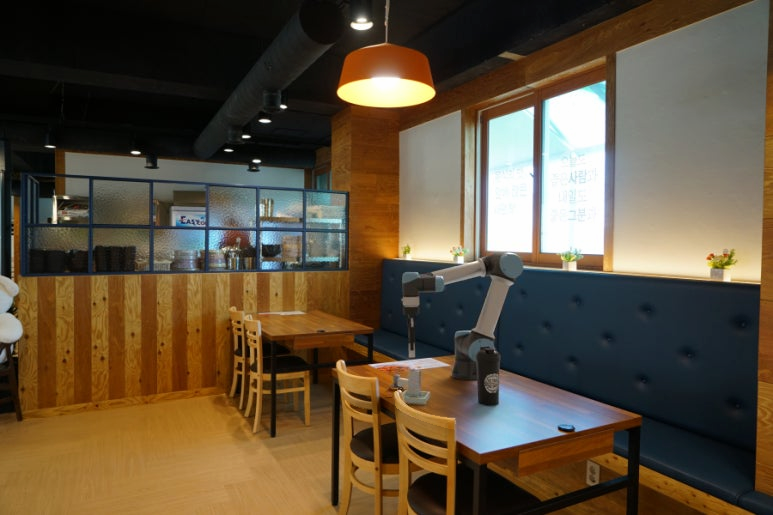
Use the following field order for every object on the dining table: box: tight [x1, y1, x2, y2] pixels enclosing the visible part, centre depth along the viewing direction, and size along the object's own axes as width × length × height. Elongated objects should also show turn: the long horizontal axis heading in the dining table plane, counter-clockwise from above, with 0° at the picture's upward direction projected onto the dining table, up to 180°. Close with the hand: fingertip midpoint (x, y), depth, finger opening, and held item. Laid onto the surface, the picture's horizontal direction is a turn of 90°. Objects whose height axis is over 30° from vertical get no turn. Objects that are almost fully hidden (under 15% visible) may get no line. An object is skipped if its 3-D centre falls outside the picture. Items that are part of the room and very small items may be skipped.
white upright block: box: [407, 368, 422, 398], centre depth 218 cm, size 4×4×12 cm
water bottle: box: [476, 346, 501, 407], centre depth 214 cm, size 10×10×23 cm
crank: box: [392, 374, 408, 389], centre depth 235 cm, size 13×3×5 cm, turn 55°
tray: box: [402, 389, 431, 406], centre depth 218 cm, size 11×11×2 cm
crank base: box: [389, 384, 404, 389], centre depth 238 cm, size 6×6×1 cm
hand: (411, 357), depth 237 cm, fingers closed
